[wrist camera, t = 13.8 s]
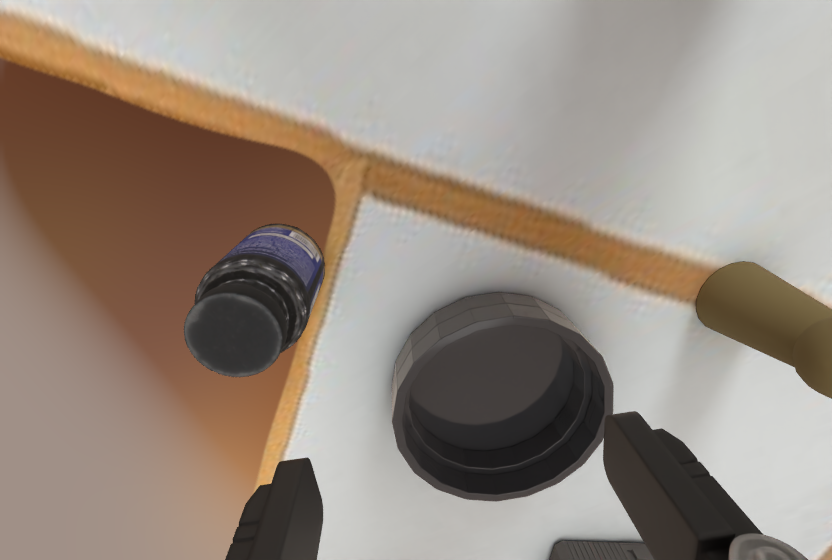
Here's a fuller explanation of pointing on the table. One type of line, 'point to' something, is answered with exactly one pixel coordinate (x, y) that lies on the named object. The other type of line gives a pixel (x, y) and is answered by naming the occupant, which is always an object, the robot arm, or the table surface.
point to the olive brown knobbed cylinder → (770, 319)
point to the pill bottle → (255, 301)
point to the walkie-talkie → (600, 551)
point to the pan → (498, 397)
